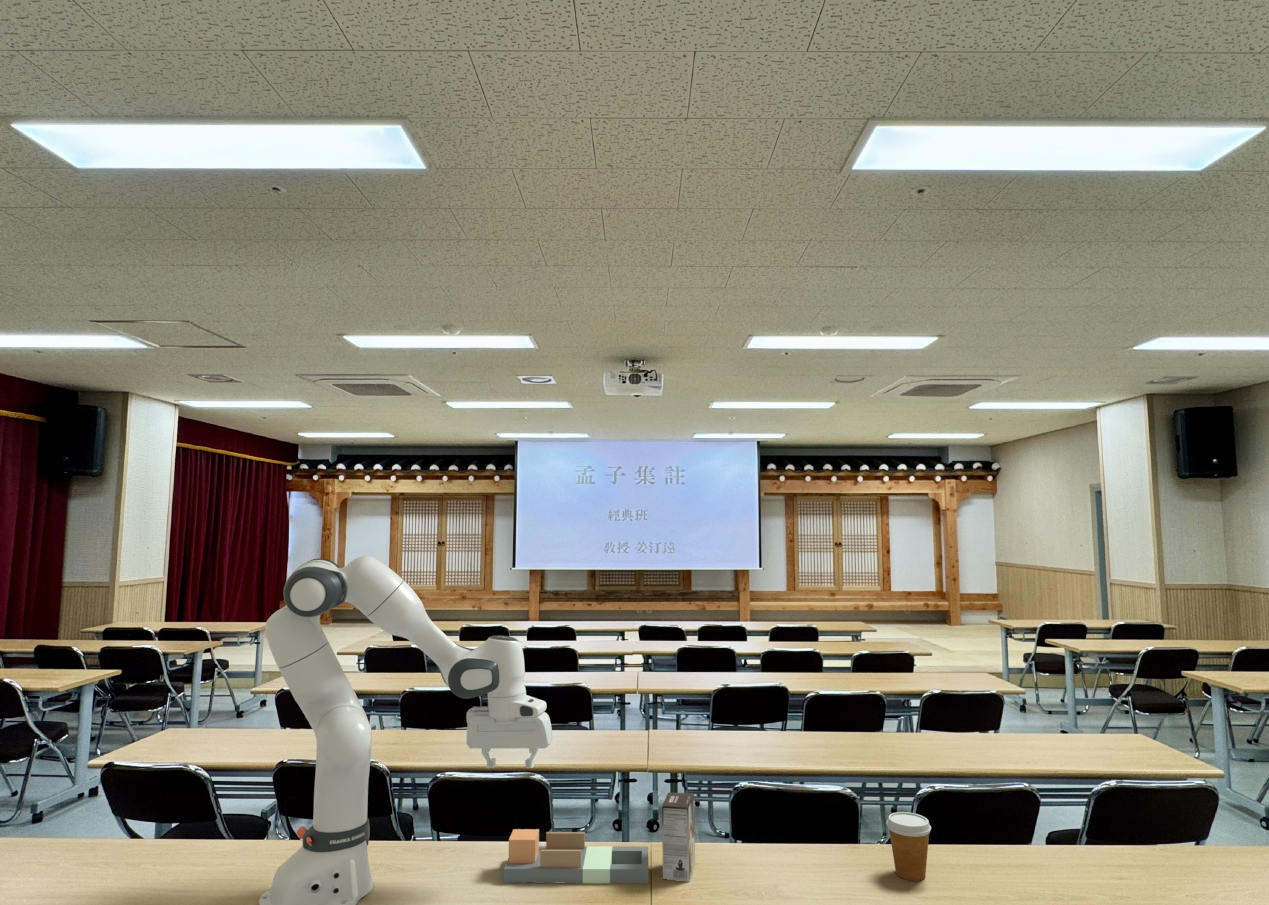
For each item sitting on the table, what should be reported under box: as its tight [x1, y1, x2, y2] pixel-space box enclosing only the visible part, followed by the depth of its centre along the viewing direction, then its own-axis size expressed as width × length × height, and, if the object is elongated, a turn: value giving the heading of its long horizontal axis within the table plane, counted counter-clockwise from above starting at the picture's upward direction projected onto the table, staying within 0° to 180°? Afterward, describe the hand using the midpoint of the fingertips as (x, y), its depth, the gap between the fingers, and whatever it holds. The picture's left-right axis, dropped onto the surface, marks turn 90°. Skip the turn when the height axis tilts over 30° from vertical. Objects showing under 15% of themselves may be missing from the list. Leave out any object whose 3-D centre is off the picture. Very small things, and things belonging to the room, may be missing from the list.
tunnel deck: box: [503, 831, 650, 884], centre depth 174 cm, size 32×12×6 cm, turn 89°
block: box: [508, 828, 540, 863], centre depth 174 cm, size 6×6×5 cm
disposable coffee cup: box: [886, 811, 932, 882], centre depth 171 cm, size 10×10×12 cm
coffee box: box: [661, 792, 696, 883], centre depth 173 cm, size 9×6×16 cm
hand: (510, 767), depth 176 cm, fingers open, 8 cm apart
